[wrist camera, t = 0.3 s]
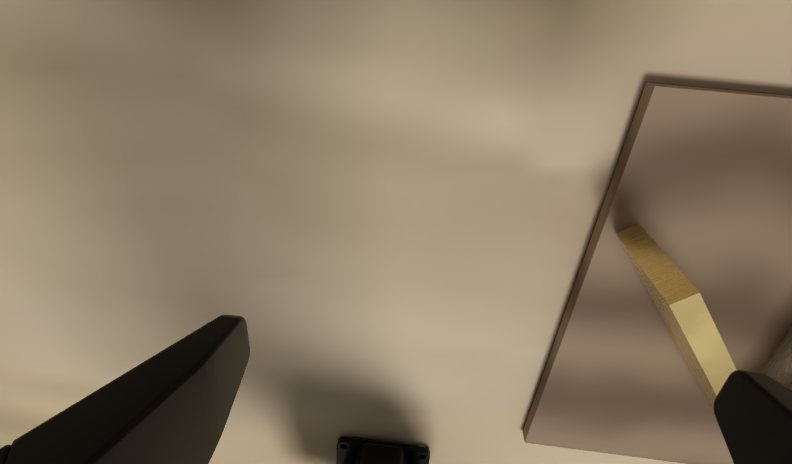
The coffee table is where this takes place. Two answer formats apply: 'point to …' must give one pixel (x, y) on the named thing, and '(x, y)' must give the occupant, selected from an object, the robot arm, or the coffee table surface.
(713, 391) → the block
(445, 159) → the coffee table surface
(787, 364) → the steel leaf
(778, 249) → the hinge board
